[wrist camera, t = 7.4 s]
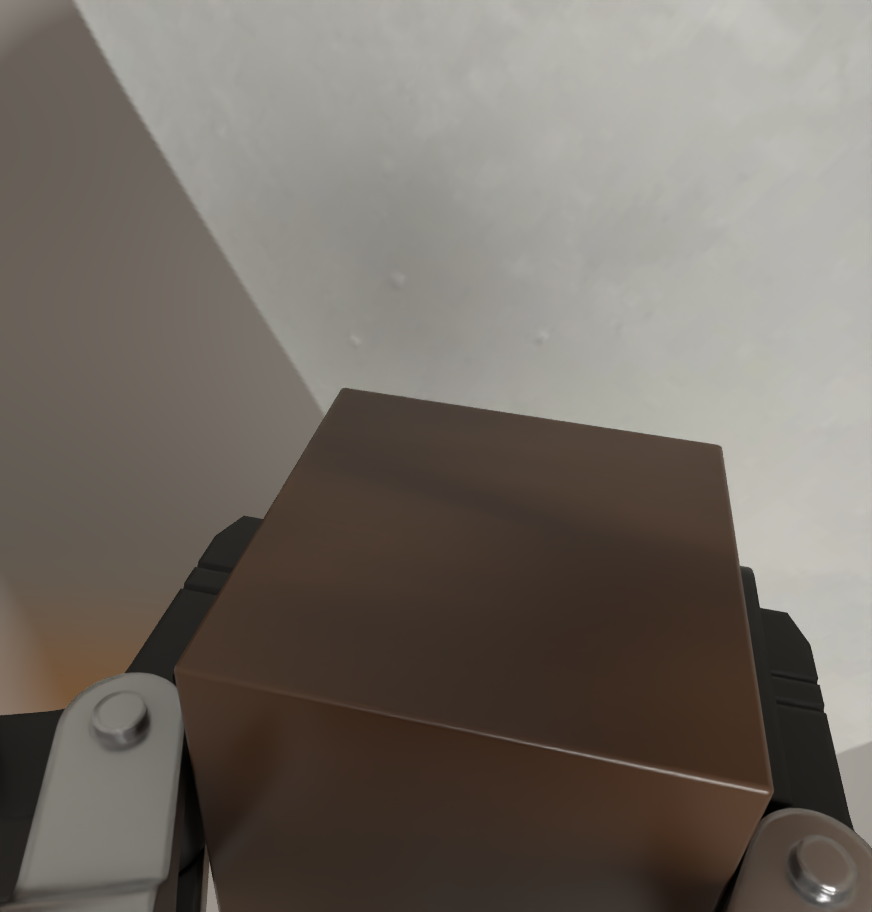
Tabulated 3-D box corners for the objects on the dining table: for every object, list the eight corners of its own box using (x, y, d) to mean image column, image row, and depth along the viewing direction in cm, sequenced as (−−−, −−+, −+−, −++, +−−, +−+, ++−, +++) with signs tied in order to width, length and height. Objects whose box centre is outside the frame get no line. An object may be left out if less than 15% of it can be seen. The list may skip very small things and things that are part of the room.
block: (344, 642, 14) (223, 949, 10) (341, 385, 11) (170, 668, 7) (644, 700, 13) (646, 1055, 9) (722, 443, 10) (777, 793, 6)
